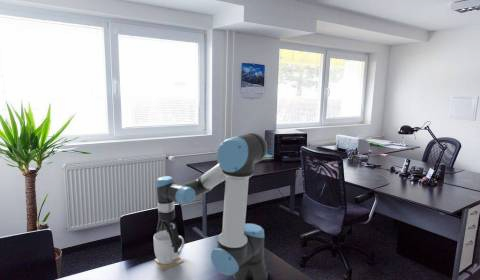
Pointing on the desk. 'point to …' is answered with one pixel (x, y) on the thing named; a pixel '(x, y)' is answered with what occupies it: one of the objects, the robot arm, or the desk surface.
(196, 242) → the desk surface
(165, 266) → the coaster
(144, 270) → the desk surface
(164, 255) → the mug
